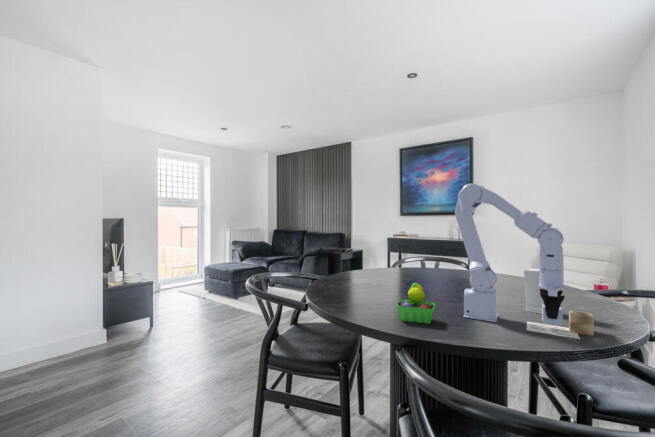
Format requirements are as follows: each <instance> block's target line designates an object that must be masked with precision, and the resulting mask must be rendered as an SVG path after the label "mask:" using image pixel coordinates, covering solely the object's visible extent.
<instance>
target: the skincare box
mask: <svg viewBox="0 0 655 437" xmlns="http://www.w3.org/2000/svg"><path fill="white" fill-rule="evenodd" d="M523 278H524V279H523V280H524V297H525V299H524V300H525V311H526V312H528V313H529V312H531V313H534V314H540V315H542V304H544V301H543V299H542V297H541V296H540V290H539V289H543V288H541V287H539V268H534V267H533V268H527V269H524V270H523ZM544 305H545V304H544Z"/></svg>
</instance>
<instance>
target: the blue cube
mask: <svg viewBox="0 0 655 437" xmlns="http://www.w3.org/2000/svg"><path fill="white" fill-rule="evenodd" d="M563 315H564V312H563V308H562V306H561V305H560V308H559V312H558V317H557V319H550V318H548V317H547V314H546V309H545V305H544V304H542V314H541V320H542V324H547V325H553V326H560V327H564V323H563V320H564V319H563V318H564V317H563Z"/></svg>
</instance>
